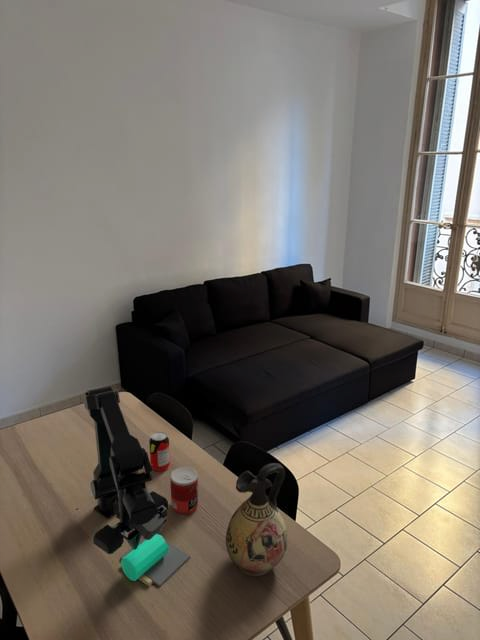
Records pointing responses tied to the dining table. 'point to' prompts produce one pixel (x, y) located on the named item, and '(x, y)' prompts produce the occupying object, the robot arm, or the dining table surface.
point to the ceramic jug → (257, 524)
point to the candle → (144, 557)
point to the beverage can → (159, 451)
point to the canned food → (184, 490)
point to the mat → (165, 564)
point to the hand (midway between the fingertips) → (134, 548)
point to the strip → (145, 580)
